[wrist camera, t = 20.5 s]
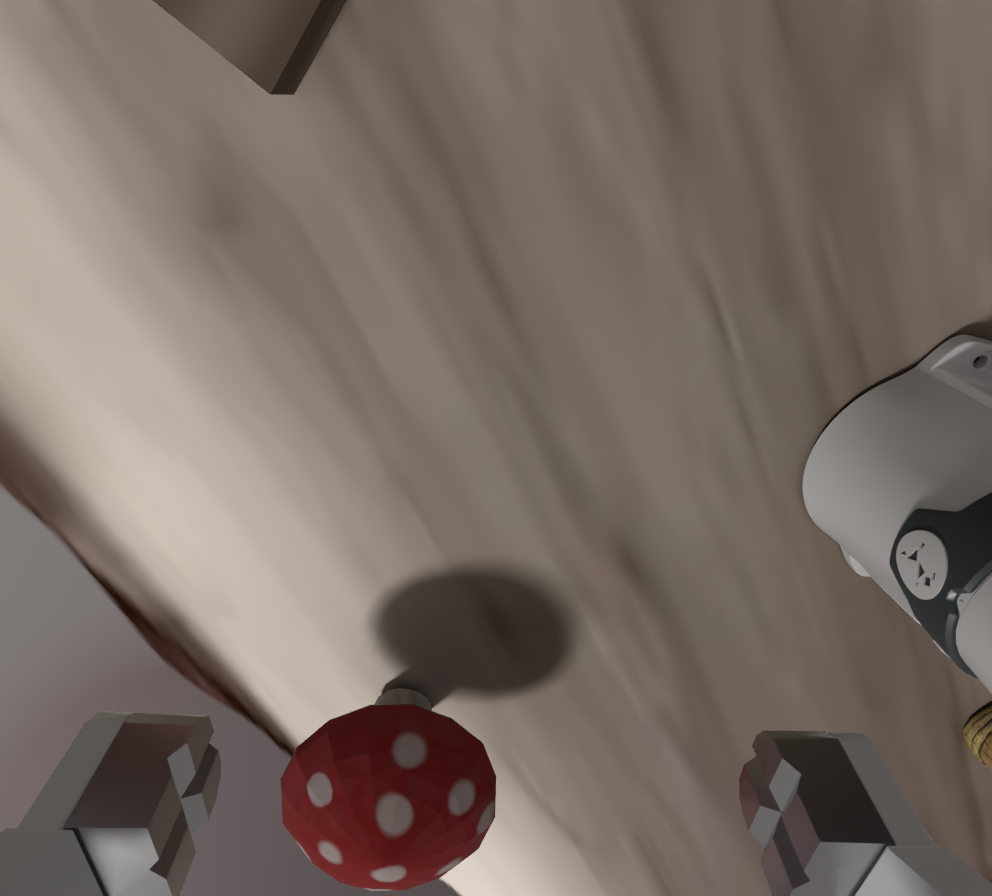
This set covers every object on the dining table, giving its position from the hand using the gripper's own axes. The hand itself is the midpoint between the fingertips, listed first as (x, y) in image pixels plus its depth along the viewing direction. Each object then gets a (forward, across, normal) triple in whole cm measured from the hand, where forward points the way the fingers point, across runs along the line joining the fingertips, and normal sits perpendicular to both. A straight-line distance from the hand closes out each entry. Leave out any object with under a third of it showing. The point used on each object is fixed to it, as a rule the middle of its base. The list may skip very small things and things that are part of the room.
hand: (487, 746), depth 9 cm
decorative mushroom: (+31, -5, -37) cm, 49 cm away
